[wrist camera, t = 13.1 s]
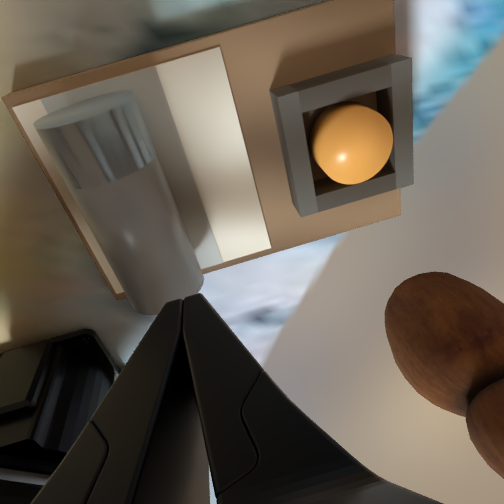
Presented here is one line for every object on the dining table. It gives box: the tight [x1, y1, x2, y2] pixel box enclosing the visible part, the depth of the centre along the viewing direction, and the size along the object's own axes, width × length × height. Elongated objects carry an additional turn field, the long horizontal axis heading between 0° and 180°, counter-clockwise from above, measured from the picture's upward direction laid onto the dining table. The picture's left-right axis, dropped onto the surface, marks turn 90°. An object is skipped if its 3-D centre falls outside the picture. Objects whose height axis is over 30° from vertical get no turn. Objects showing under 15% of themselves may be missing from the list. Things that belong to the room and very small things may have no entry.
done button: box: [309, 101, 393, 184], centre depth 16 cm, size 3×3×2 cm
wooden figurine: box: [385, 272, 504, 479], centre depth 18 cm, size 7×6×15 cm
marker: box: [33, 91, 204, 315], centre depth 16 cm, size 9×3×3 cm, turn 14°
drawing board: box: [2, 0, 414, 300], centre depth 17 cm, size 10×15×2 cm, turn 104°
